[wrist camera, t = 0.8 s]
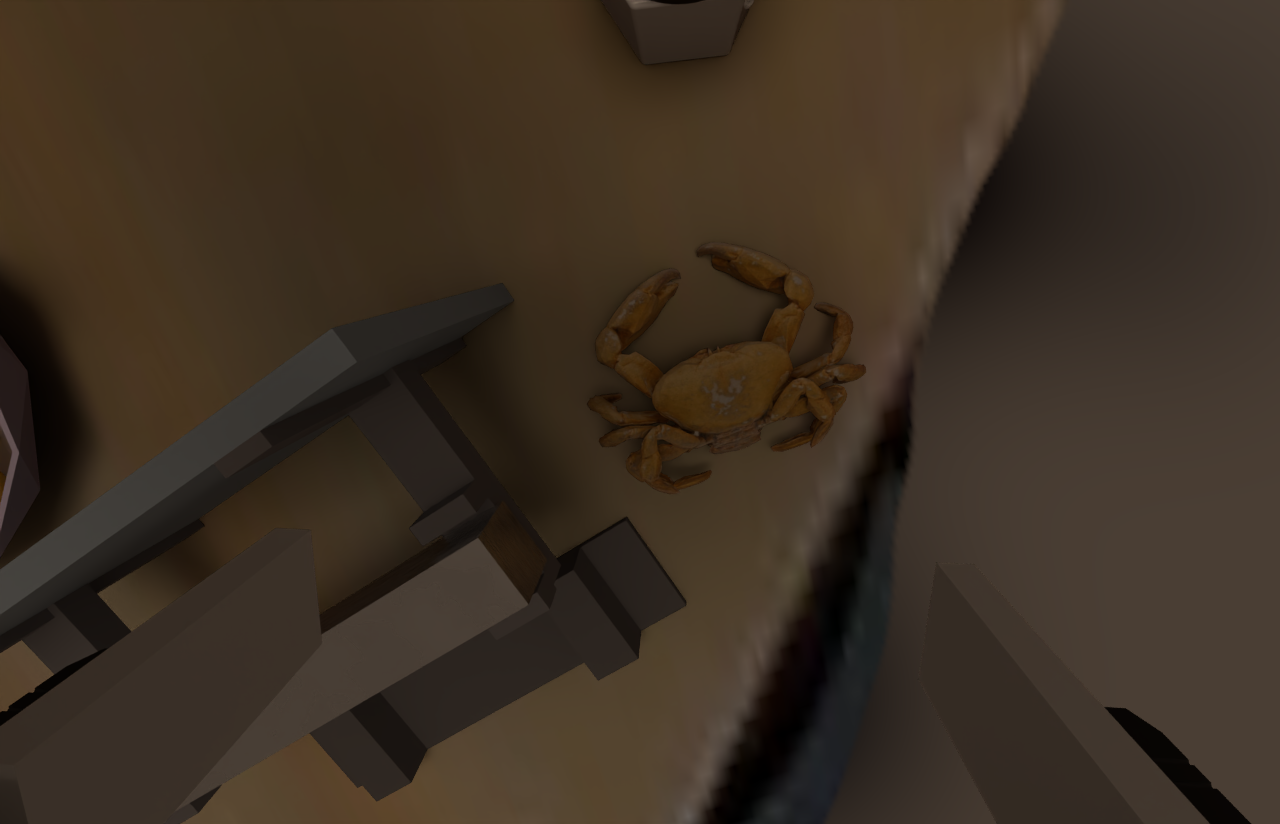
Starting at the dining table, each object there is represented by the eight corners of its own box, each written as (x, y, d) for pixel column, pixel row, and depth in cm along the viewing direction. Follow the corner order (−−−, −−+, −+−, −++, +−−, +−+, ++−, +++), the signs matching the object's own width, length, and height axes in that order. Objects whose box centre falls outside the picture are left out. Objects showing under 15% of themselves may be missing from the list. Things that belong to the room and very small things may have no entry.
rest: (298, 711, 48) (270, 748, 44) (626, 517, 43) (622, 541, 39) (360, 782, 49) (337, 823, 46) (686, 601, 44) (686, 632, 40)
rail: (111, 744, 36) (42, 806, 32) (503, 500, 31) (477, 538, 27) (156, 792, 36) (94, 858, 32) (547, 559, 31) (528, 604, 28)
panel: (122, 548, 45) (-294, 783, 26) (502, 283, 39) (331, 328, 20) (257, 700, 48) (-30, 1018, 28) (633, 472, 42) (595, 676, 22)
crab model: (804, 202, 38) (825, 195, 32) (873, 409, 40) (903, 434, 35) (552, 305, 40) (533, 315, 34) (633, 496, 42) (627, 532, 37)
